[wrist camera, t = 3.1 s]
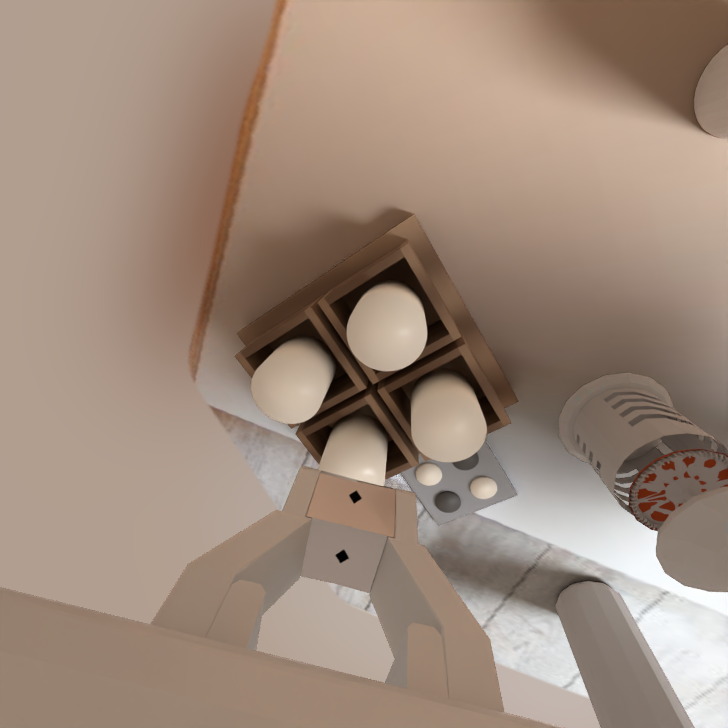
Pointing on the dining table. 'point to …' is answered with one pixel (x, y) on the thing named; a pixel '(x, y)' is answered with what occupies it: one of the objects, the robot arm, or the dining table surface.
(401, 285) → the button
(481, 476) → the pattern card
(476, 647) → the robot arm
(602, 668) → the water bottle
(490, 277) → the dining table surface
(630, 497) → the french press
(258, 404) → the button
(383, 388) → the button board
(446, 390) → the button
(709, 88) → the coffee cup
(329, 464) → the button
